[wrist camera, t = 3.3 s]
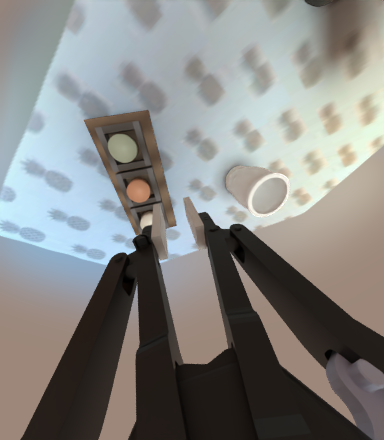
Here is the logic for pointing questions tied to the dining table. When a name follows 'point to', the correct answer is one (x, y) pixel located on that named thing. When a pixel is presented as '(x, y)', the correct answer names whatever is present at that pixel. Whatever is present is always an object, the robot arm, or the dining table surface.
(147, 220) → the button cream
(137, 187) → the button terracotta
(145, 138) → the button board
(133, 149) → the button sage
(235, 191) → the jar
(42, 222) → the dining table surface
